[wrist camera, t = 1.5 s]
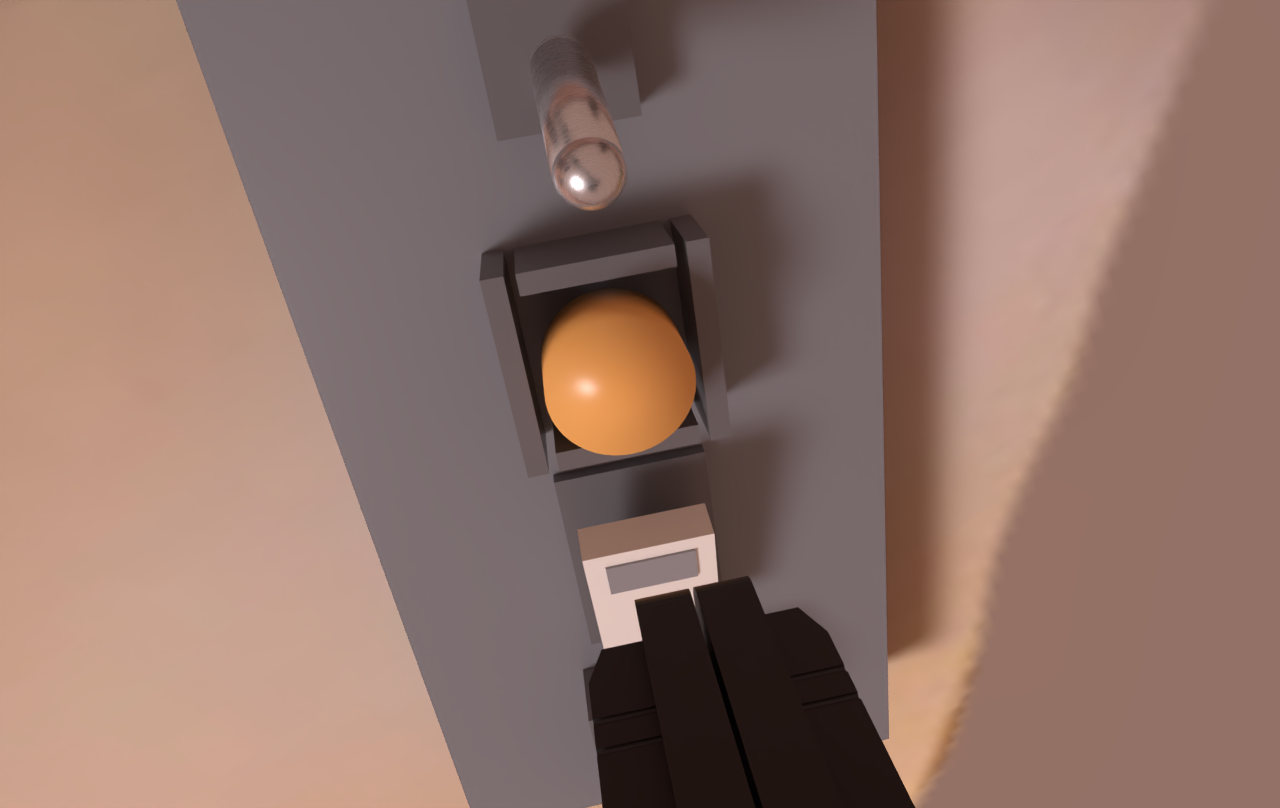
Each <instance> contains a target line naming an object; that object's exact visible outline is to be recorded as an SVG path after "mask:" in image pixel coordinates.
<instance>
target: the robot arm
mask: <svg viewBox="0 0 1280 808" xmlns="http://www.w3.org/2000/svg"><path fill="white" fill-rule="evenodd" d="M693 595H694V602H693V598H692V595H691V592H690V590H689V588H688V589H683V590H678V591H674V592H669V593H664V594H659V595H655V596H650V597H645V598H641V599H636V600H634V601H635V606H636V612H637V617H638V622H639V627H640V632H641V637H642V641H639V642H634V643H630V644H625V645H620V646H616V647H611V648H606V649H601V652H600V655H599V657H598V660H597V663H596V665H595V668H594V670H593V673H592V676H591V678H590V681H589V693H590V701H591V710H592V719H593V724H594V727H593V728H594V736H595V745H596V752H597V763H598V771H599V780H600V789H601V798H602V806H603V808H915V806H914V804H913V803H912V801H911V799H910V797H909V795H908V792H907V790H906V788H905V786H904V784H903V782H902V780H901V778H900V776H899V774H898V772H897V770H896V768H895V766H894V764H893V762H892V760H891V758H890V756H889V754H888V752H887V750H886V748H885V746H884V744H883V742H882V740H881V738H880V736H879V734H878V732H877V730H876V728H875V726H874V724H873V722H872V720H871V718H870V716H869V714H868V712H867V710H866V708H865V706H864V703H863V701H862V699H859V696H858V691H857V689H856V687H855V685H854V683H853V681H852V679H851V677H850V675H849V673H848V671H846V670H845V667H844V663H843V661H842V659H841V657H840V655H839V653H838V651H837V649H836V647H835V645H834V643H833V641H832V639H831V637H830V635H829V633H828V631H827V630H825V629H824V628H823V627H822V626H821V625H819V624H818V623H817V622H816V621H814V620H813V619H812V618H811V617H810V616H808V615H807V614H806V613H805V612H804V611H802V610H801V609H800V608H799V607H796V608H792V609H787V610H782V611H778V612H773V613H768V614H765V613H764V610H763V608H762V605H761V603H760V601H759V598H758V596H757V593H756V591H755V588H754V586H753V583H752V581H751V579H750V578H749V576H743V577H739V578H734V579H729V580H725V581H720V582H715V583H710V584H706V585H701V586H696V587H693ZM694 603H695V605H694Z"/></svg>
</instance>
